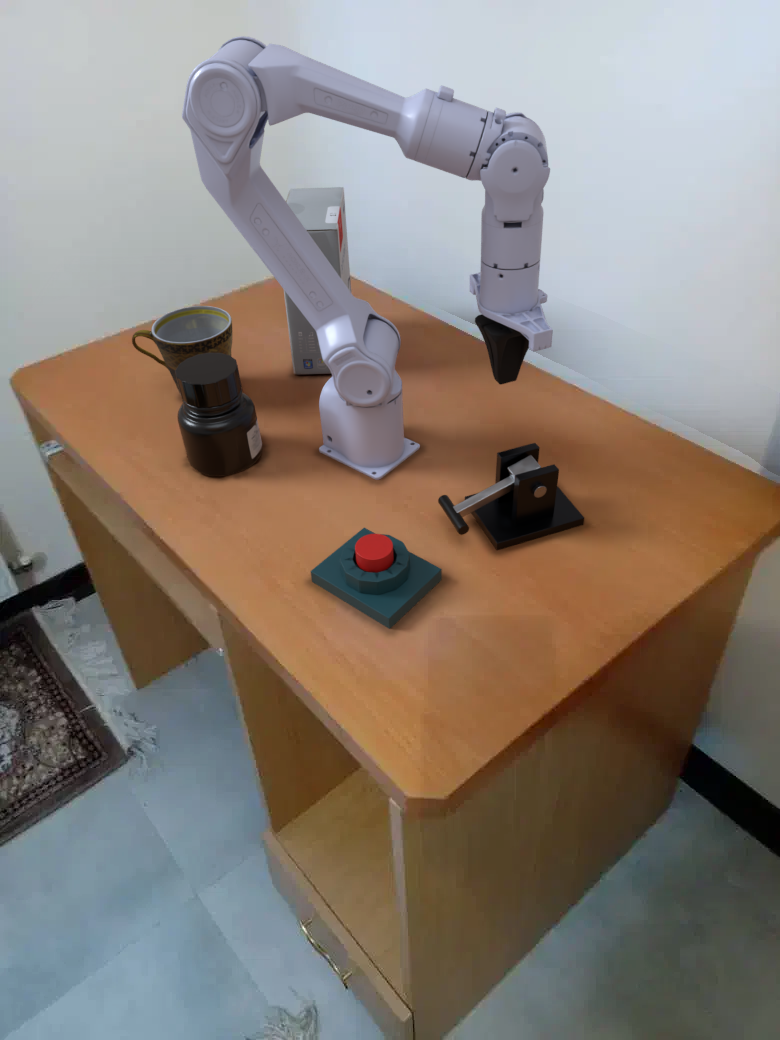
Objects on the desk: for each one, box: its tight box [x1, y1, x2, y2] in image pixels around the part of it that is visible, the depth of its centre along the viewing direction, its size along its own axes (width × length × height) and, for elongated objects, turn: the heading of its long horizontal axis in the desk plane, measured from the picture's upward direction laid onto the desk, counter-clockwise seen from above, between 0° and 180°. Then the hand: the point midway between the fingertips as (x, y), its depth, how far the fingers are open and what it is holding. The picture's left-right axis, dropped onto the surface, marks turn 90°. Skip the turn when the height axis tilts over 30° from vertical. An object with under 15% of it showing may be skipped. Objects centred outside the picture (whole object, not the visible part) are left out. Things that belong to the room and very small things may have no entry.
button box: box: [310, 527, 443, 630], centre depth 77 cm, size 10×8×4 cm
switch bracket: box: [464, 442, 585, 551], centre depth 82 cm, size 10×8×7 cm
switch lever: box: [437, 455, 542, 536], centre depth 81 cm, size 10×5×2 cm, turn 109°
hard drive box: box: [283, 186, 352, 376], centre depth 106 cm, size 16×8×20 cm, turn 179°
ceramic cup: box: [131, 305, 233, 396], centre depth 102 cm, size 13×10×10 cm
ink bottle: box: [175, 353, 263, 477], centre depth 91 cm, size 10×9×12 cm
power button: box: [355, 533, 394, 573], centre depth 75 cm, size 4×4×2 cm
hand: (505, 379), depth 85 cm, fingers closed
